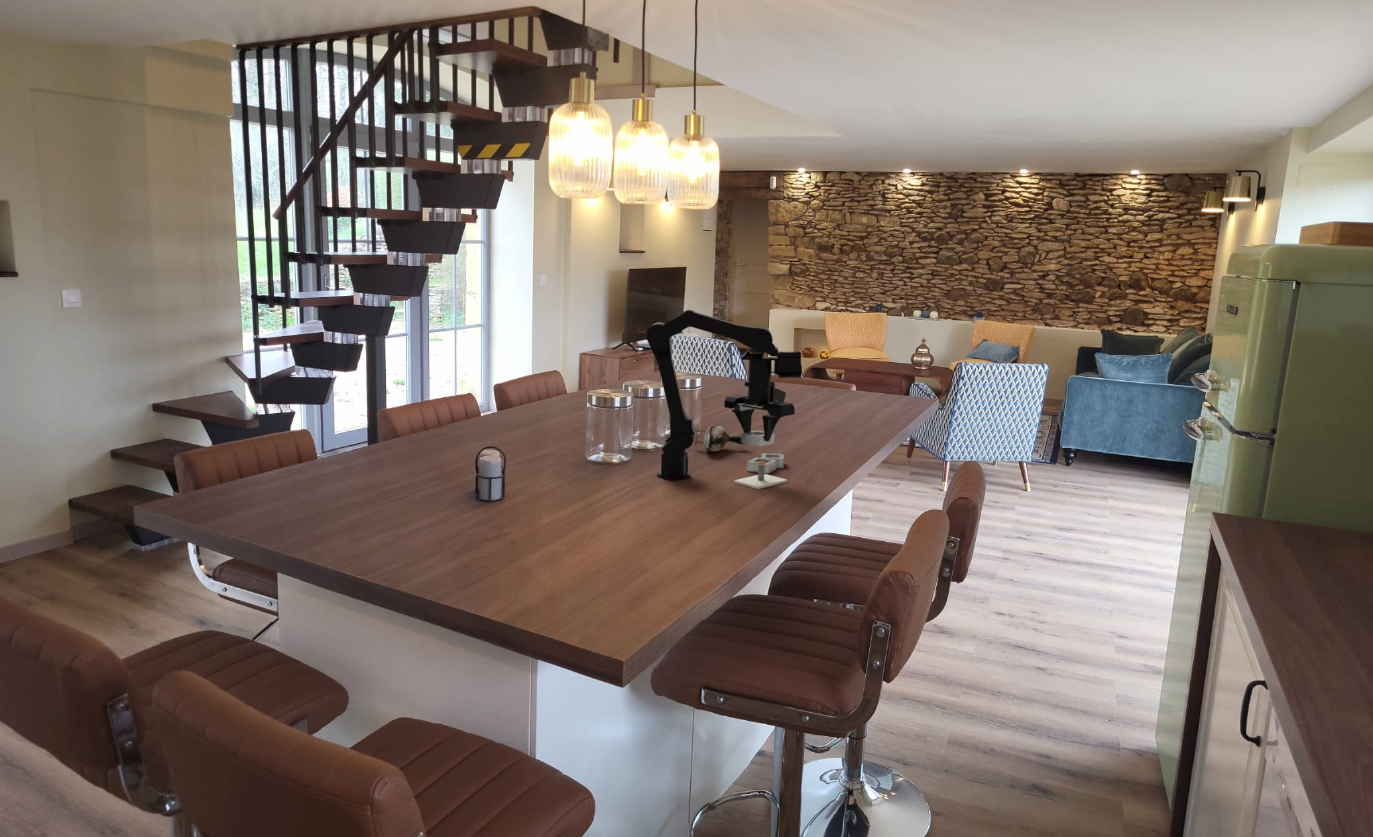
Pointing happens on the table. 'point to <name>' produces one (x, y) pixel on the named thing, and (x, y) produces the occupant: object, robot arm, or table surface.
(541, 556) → the table surface
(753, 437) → the end link
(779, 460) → the grey square frame
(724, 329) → the robot arm
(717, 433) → the decorative duck model
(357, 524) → the table surface
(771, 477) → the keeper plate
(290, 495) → the table surface
